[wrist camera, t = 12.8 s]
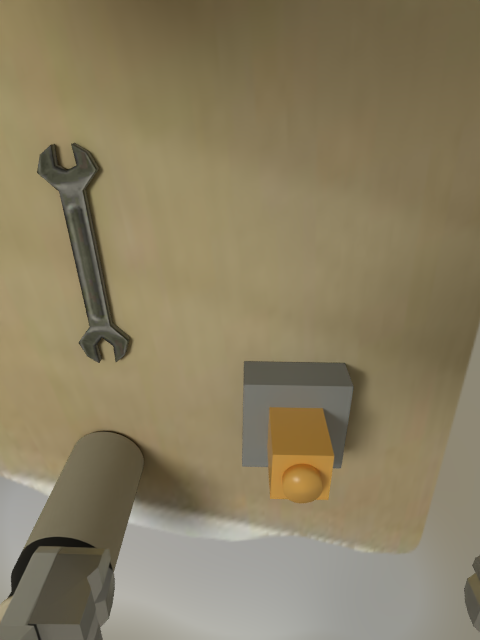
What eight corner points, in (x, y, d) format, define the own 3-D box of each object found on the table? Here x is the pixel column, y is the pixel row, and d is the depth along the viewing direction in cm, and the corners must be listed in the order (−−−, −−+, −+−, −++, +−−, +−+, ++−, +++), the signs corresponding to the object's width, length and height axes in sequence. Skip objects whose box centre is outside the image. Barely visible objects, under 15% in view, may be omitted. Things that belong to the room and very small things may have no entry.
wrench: (135, 356, 44) (97, 141, 36) (129, 365, 43) (88, 143, 34) (89, 355, 45) (40, 144, 36) (81, 364, 43) (29, 145, 35)
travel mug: (59, 445, 49) (-33, 613, 33) (117, 419, 48) (51, 583, 31) (101, 491, 52) (36, 665, 36) (158, 468, 51) (116, 640, 35)
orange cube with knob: (267, 447, 44) (270, 510, 37) (269, 407, 42) (273, 465, 35) (317, 449, 44) (330, 511, 37) (322, 408, 41) (337, 467, 35)
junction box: (242, 439, 48) (241, 502, 41) (244, 361, 44) (243, 416, 36) (334, 440, 48) (350, 504, 41) (344, 363, 44) (365, 418, 36)
